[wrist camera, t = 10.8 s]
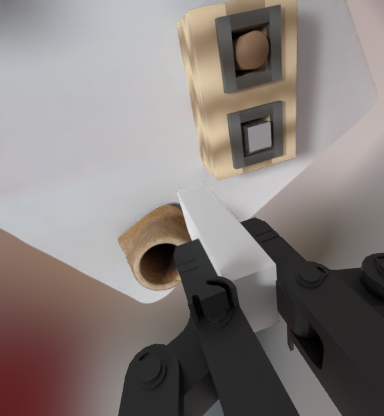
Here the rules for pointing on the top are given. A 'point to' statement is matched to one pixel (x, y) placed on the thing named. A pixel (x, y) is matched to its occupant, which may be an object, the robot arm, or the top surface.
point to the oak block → (241, 82)
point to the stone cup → (156, 247)
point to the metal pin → (256, 134)
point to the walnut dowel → (250, 50)
